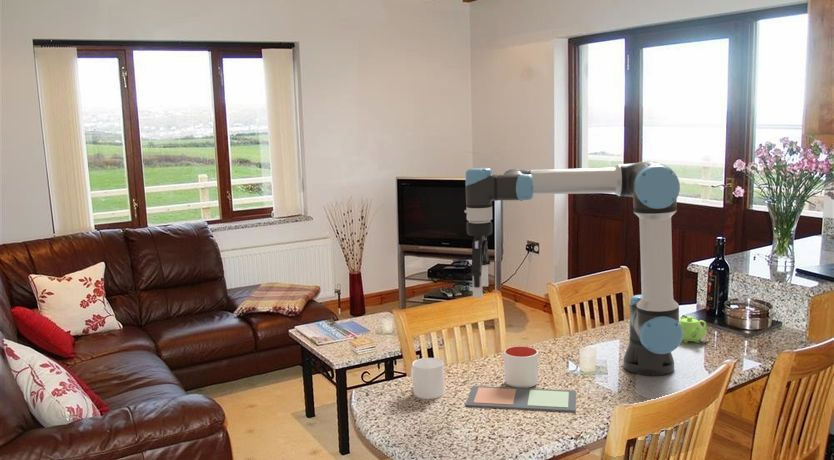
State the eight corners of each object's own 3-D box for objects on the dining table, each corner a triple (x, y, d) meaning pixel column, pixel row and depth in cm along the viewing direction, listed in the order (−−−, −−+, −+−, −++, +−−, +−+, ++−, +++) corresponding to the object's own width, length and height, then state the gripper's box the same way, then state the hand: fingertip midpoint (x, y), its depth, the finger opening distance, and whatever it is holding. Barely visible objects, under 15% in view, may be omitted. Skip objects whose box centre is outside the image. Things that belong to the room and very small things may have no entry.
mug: (450, 394, 212) (449, 364, 211) (423, 402, 208) (422, 370, 206) (429, 382, 222) (427, 353, 221) (403, 388, 218) (401, 359, 216)
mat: (575, 392, 210) (575, 390, 210) (575, 412, 197) (575, 409, 197) (472, 387, 217) (472, 385, 217) (465, 406, 204) (465, 404, 204)
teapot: (712, 339, 251) (713, 316, 250) (697, 348, 243) (697, 323, 242) (681, 333, 259) (682, 310, 258) (665, 341, 251) (666, 317, 250)
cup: (537, 390, 213) (537, 357, 211) (503, 389, 215) (502, 356, 213) (538, 377, 223) (538, 346, 221) (506, 376, 225) (505, 345, 223)
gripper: (472, 214, 226) (474, 281, 229) (459, 228, 202) (461, 302, 205) (496, 214, 224) (498, 281, 228) (486, 228, 200) (488, 303, 204)
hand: (480, 291), depth 217 cm, fingers open, 13 cm apart
